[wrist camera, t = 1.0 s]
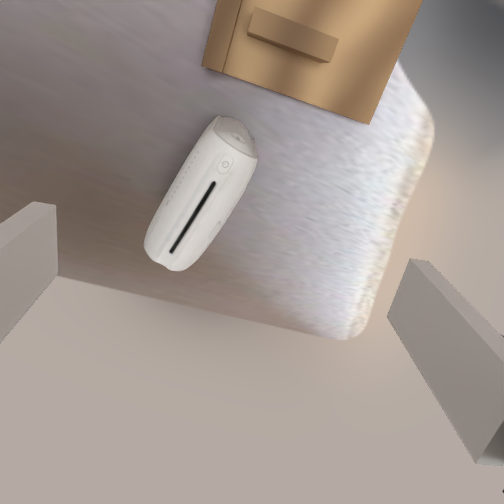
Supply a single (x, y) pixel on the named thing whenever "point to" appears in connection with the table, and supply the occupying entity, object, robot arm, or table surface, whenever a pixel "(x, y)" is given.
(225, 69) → the ledge shelf
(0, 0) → the table surface
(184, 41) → the table surface
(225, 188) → the photo printer
